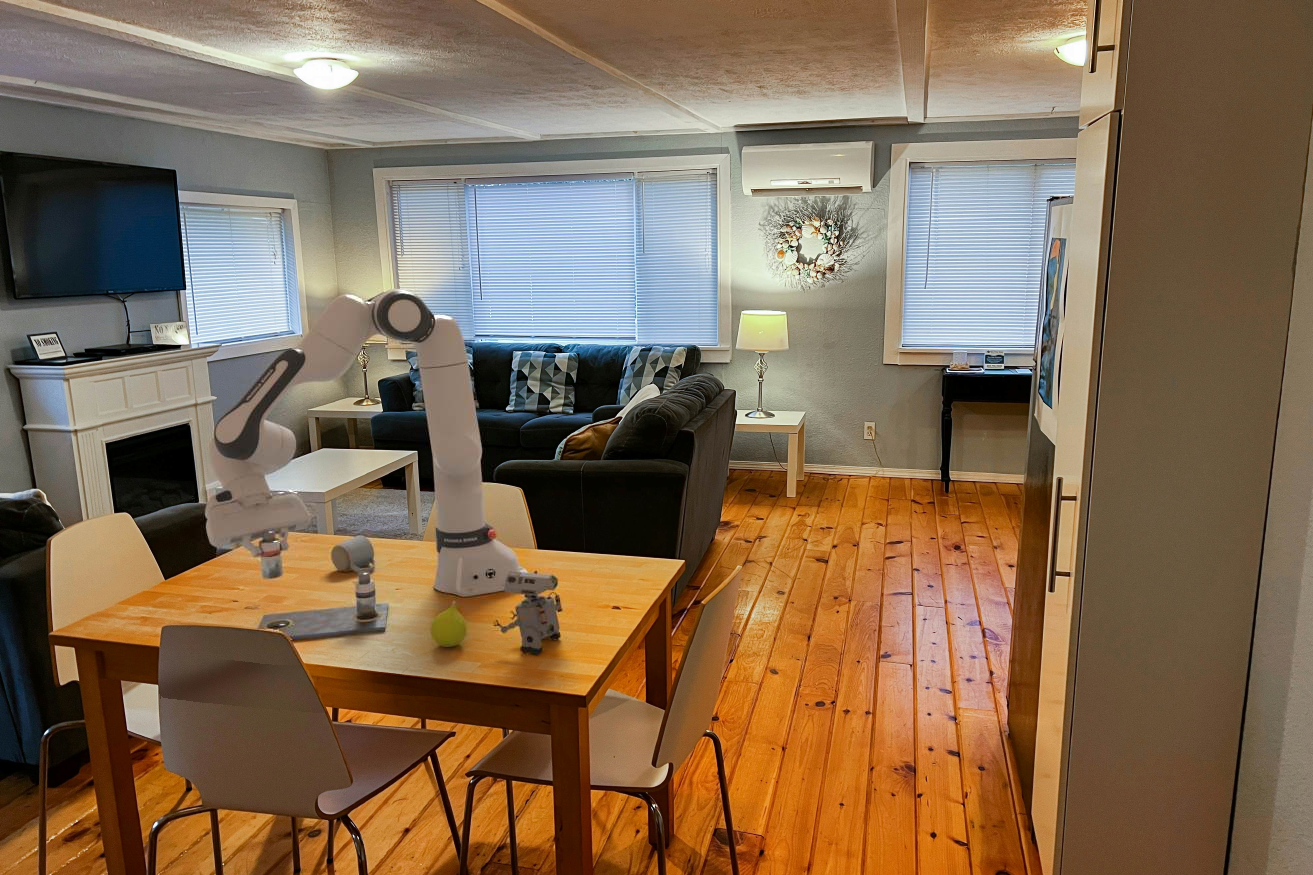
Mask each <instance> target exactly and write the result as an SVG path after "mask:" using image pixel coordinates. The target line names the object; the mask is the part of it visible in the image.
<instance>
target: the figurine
mask: <svg viewBox="0 0 1313 875" xmlns="http://www.w3.org/2000/svg"><path fill="white" fill-rule="evenodd" d="M558 585H559V578H558V577H556V576H555V575H553V574H545V573H544V574H543V573H538V571H537V570H534V572H528V573H523V572H512V571H510V572H509V573H508V575H507V578H506V582H505V587H504V589H505V590H504V593H505V594H515V595H524V598H525V599H523V600H522V601H521V602H520V603H518V604H517V605H515V606H514V609H515V612H513V610H511V611H510V612H509V614H510V615H511V613H512V614H513V617H511V616H509V618H510V619H511V620H513V619H514V618H515V617H516V619H515V620H514V622H510V623H508V624H507V625H504V626H503V625H502V624H500V623H499V621H498V620H497V619H496V620H495V621H494V623H493V626H494V627H499V628H500V632H501V633H502V634H506V633H507V631H509V630H513V629H515V628H516V627H518V629H519V632H520V637H521V646H520V652H522V654H523V653H524V654H526V653H528V654H531V655H532V654H534V655H535V656H537V655H538V656H539V655H541V654H543V652H544V651H543V646H542V642H541V639H545V638H547V639H550V640H551V639H552V640H554V639H557V640H559V639H560V638H561V632H560V624H559V622H560V621H559V619H558V614H557V613H561V612H563V608H562V603H561V597H560V595H558V594H557V592H555V590H556V588H557V587H558ZM547 591H553V592H550V593H549V594H548V596H544V595H541V594H542V593H544V592H547ZM552 594H555V596H554V598H553V596H551V595H552ZM495 622H496V623H495ZM525 652H526V653H525ZM528 654H527V655H528Z"/></svg>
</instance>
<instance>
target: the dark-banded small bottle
mask: <svg viewBox="0 0 1313 875" xmlns="http://www.w3.org/2000/svg"><path fill="white" fill-rule="evenodd" d="M357 579H358V580H357V581H355V582H354V588H355V601H356V602H355V603H356V606H357V616H358V618H359V619H371V618H374V617H376V616H377V608H376V604H377V599H376V598H377V597H376V584H375V580H374V579H371V572H361V573H357Z"/></svg>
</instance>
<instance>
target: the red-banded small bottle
mask: <svg viewBox="0 0 1313 875" xmlns="http://www.w3.org/2000/svg"><path fill="white" fill-rule="evenodd" d="M262 537H263V538H262V539H261V540H259V541H258V546H259V545H260V548H261V550H262V554H261V556H259V557H260V567H261V577H262V579H266V580H272V579H273V580H274V579H277V578H280V577H282V576H283V575H284V574H283V572H284V571H283V562H282V551H281V547H280V541H281V540H280V539H279V538H278V537H276V535H275V531H274V530H267V531H263V532H262Z"/></svg>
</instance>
